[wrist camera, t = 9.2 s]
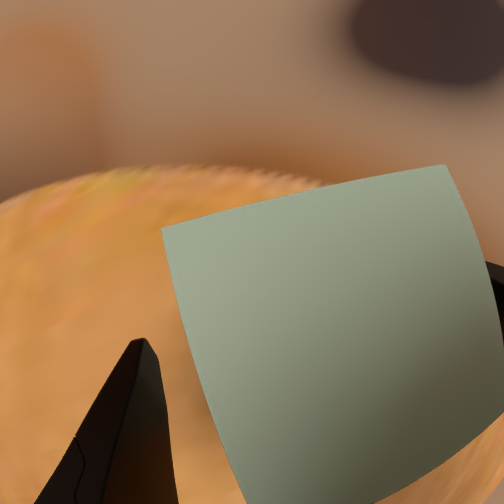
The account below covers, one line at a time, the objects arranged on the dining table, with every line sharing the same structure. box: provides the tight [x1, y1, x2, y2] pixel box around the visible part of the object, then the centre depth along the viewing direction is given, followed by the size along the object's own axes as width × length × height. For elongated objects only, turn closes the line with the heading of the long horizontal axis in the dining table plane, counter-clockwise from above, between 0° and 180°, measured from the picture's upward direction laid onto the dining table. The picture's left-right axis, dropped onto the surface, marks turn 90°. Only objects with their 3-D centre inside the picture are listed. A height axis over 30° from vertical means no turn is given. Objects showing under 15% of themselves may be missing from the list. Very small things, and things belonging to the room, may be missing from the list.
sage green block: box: [161, 164, 504, 504], centre depth 9 cm, size 5×5×12 cm
